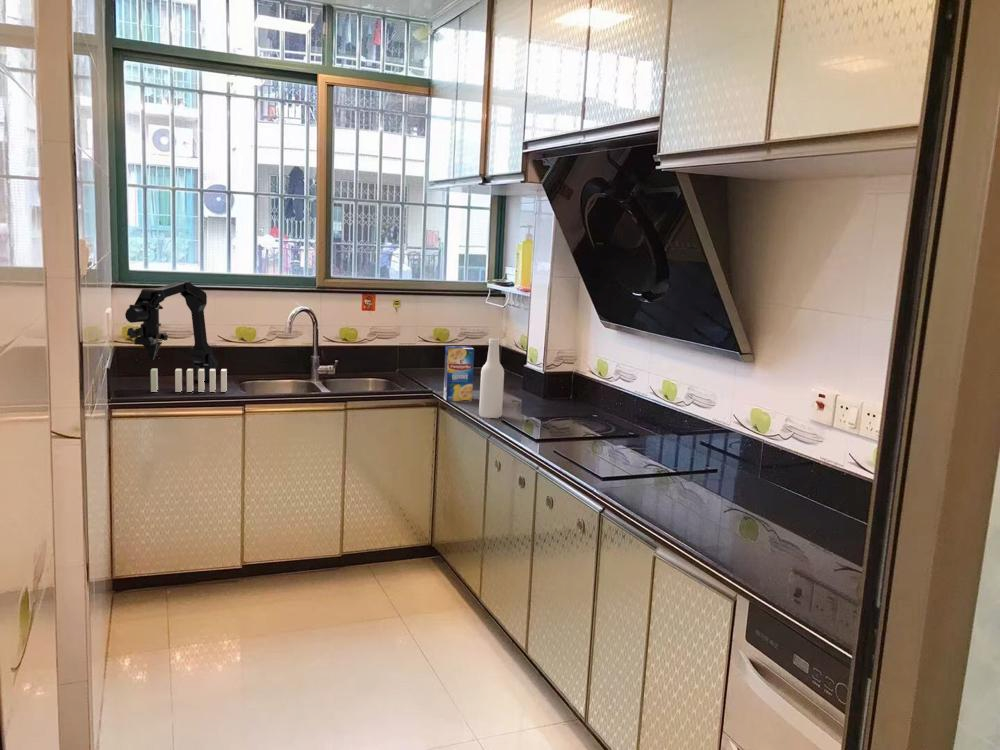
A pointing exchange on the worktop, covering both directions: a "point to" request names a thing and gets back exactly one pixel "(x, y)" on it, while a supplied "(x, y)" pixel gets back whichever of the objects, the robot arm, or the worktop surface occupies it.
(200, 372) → the domino
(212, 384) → the domino
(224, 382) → the domino
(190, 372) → the domino
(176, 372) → the domino
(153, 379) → the domino
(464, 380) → the blue food box
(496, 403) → the alcohol
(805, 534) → the worktop surface
